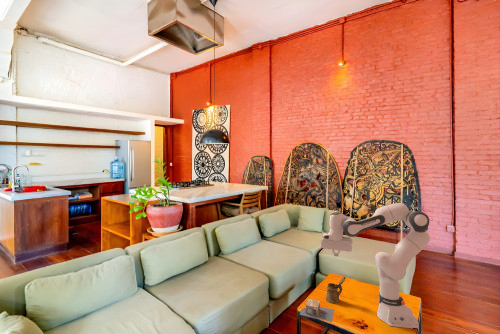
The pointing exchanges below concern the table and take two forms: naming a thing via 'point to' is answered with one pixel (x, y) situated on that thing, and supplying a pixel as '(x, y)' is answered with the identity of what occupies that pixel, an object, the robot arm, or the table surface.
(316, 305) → the stool
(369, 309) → the table surface
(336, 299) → the wooden mug
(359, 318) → the table surface
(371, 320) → the table surface
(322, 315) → the mat
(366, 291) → the table surface
